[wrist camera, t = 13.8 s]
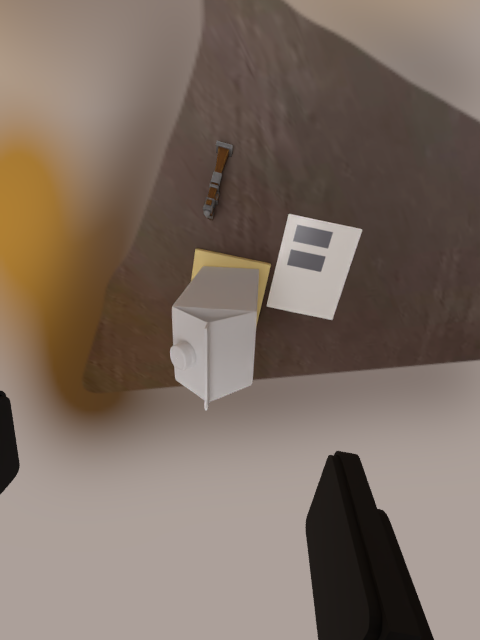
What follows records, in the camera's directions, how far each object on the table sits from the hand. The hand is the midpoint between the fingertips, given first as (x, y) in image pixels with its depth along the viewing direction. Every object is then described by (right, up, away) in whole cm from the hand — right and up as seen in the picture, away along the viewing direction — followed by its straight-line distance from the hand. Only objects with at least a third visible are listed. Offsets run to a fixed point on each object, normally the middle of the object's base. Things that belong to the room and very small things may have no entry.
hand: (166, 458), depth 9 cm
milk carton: (+1, +7, +32) cm, 33 cm away
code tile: (+11, +10, +31) cm, 35 cm away
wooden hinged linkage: (0, +20, +28) cm, 35 cm away
